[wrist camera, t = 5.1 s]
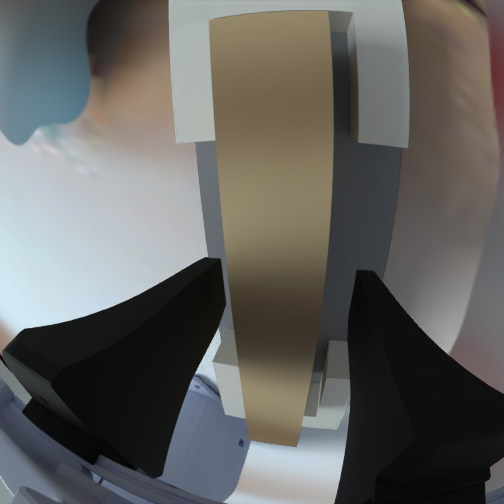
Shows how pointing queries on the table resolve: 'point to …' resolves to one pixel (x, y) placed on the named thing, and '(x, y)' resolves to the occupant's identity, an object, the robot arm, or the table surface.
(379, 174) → the cradle
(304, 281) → the slat
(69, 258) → the table surface
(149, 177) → the table surface
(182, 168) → the table surface
